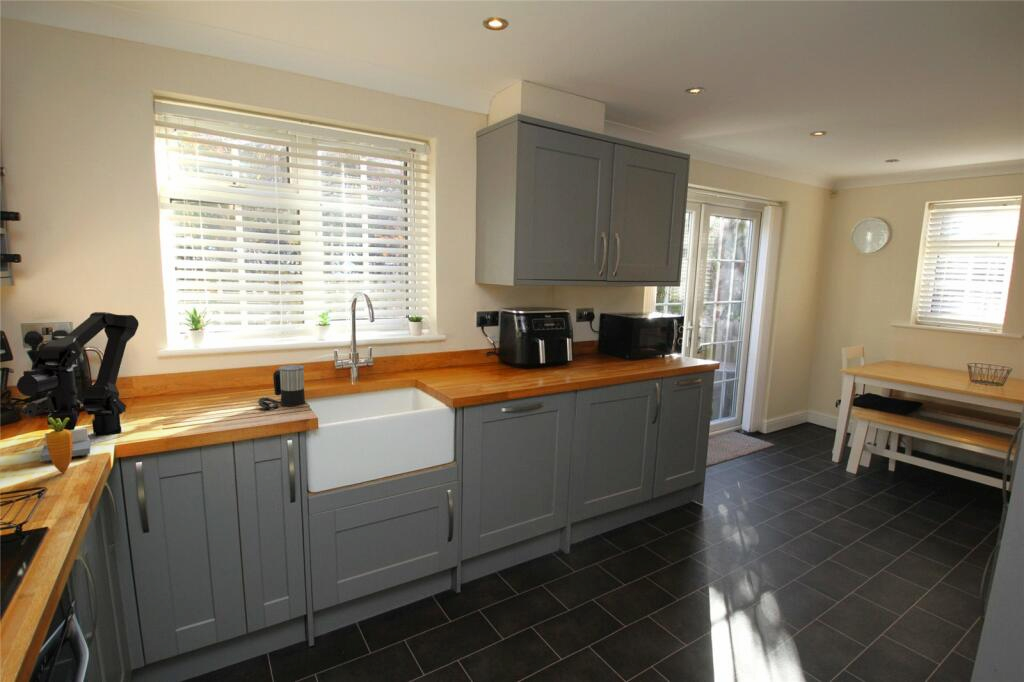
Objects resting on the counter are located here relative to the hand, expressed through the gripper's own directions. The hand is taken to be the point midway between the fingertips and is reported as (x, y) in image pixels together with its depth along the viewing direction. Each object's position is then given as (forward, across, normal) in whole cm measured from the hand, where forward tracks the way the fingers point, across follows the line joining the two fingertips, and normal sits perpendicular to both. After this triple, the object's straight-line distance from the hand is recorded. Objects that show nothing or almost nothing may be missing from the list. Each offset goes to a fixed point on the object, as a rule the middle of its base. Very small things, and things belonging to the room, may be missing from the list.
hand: (67, 439), depth 145 cm
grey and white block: (+3, +7, 0) cm, 7 cm away
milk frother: (+3, -14, +62) cm, 64 cm away
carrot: (+3, +22, 0) cm, 23 cm away
